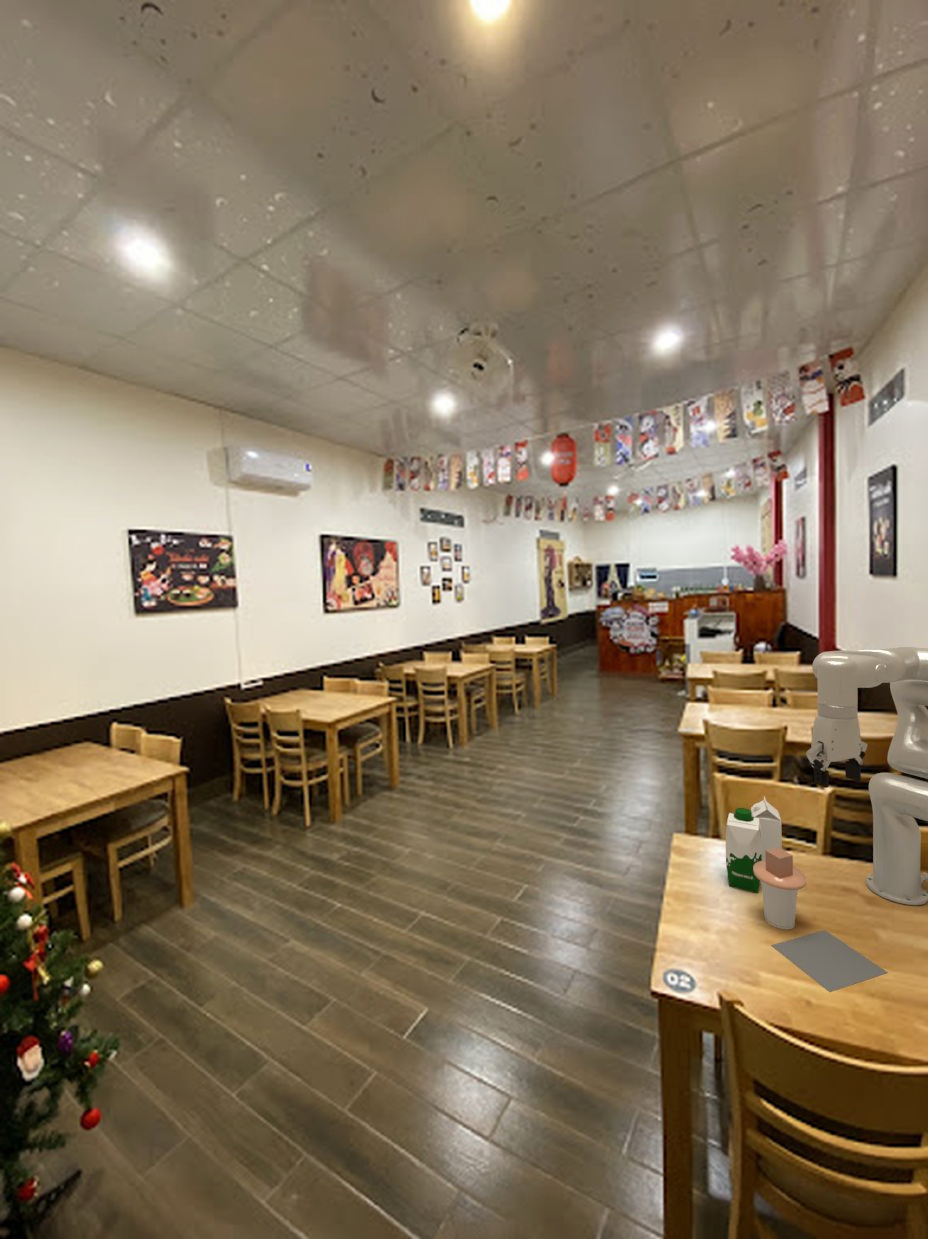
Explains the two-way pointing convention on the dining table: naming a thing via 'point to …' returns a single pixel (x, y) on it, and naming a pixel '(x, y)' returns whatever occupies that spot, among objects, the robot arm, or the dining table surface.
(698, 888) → the dining table surface
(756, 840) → the soya milk
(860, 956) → the mat
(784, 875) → the lid
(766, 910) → the cup
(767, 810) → the milk carton
